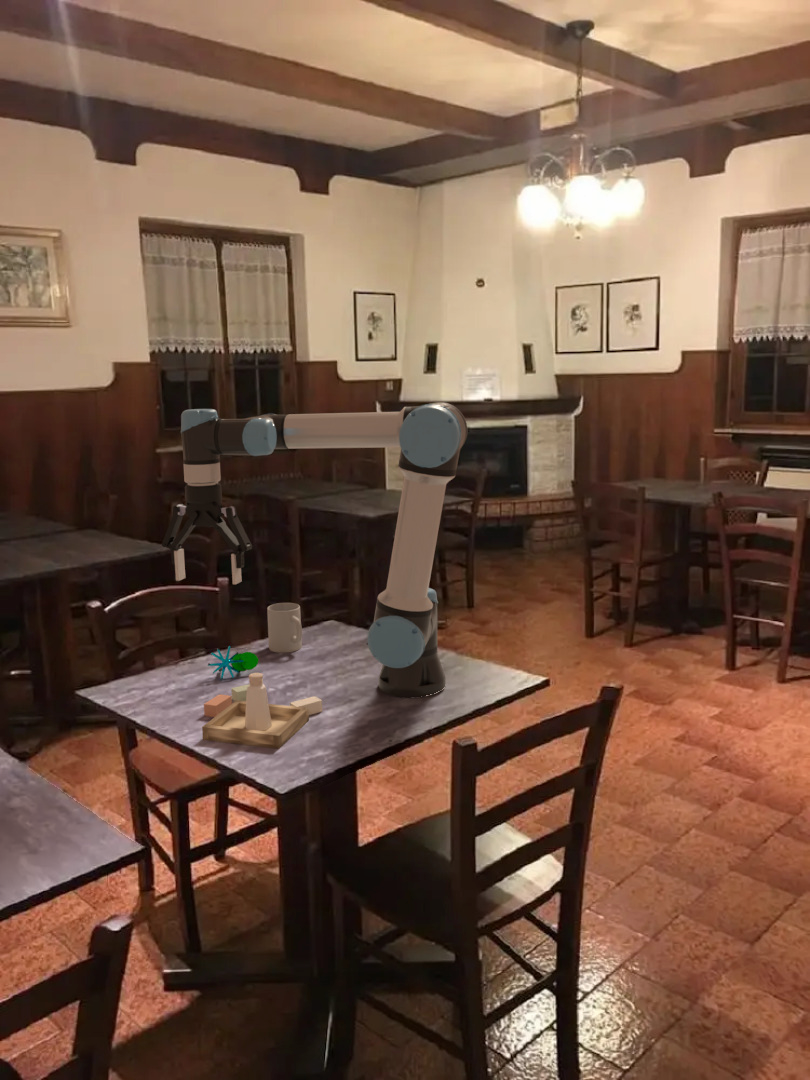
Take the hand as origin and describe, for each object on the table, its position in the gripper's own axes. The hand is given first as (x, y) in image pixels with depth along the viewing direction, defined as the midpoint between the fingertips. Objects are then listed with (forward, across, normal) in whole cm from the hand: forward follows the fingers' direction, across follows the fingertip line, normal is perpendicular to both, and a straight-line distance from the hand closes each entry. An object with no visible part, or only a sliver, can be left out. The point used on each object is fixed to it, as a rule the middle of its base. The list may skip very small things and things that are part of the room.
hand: (208, 581), depth 195 cm
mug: (+27, -1, -36) cm, 45 cm away
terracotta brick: (+27, -4, +7) cm, 28 cm away
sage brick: (+27, -7, -2) cm, 28 cm away
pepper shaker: (+26, -17, +14) cm, 34 cm away
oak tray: (+27, -17, +14) cm, 35 cm away
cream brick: (+27, -23, +3) cm, 36 cm away
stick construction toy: (+28, +2, -13) cm, 31 cm away
